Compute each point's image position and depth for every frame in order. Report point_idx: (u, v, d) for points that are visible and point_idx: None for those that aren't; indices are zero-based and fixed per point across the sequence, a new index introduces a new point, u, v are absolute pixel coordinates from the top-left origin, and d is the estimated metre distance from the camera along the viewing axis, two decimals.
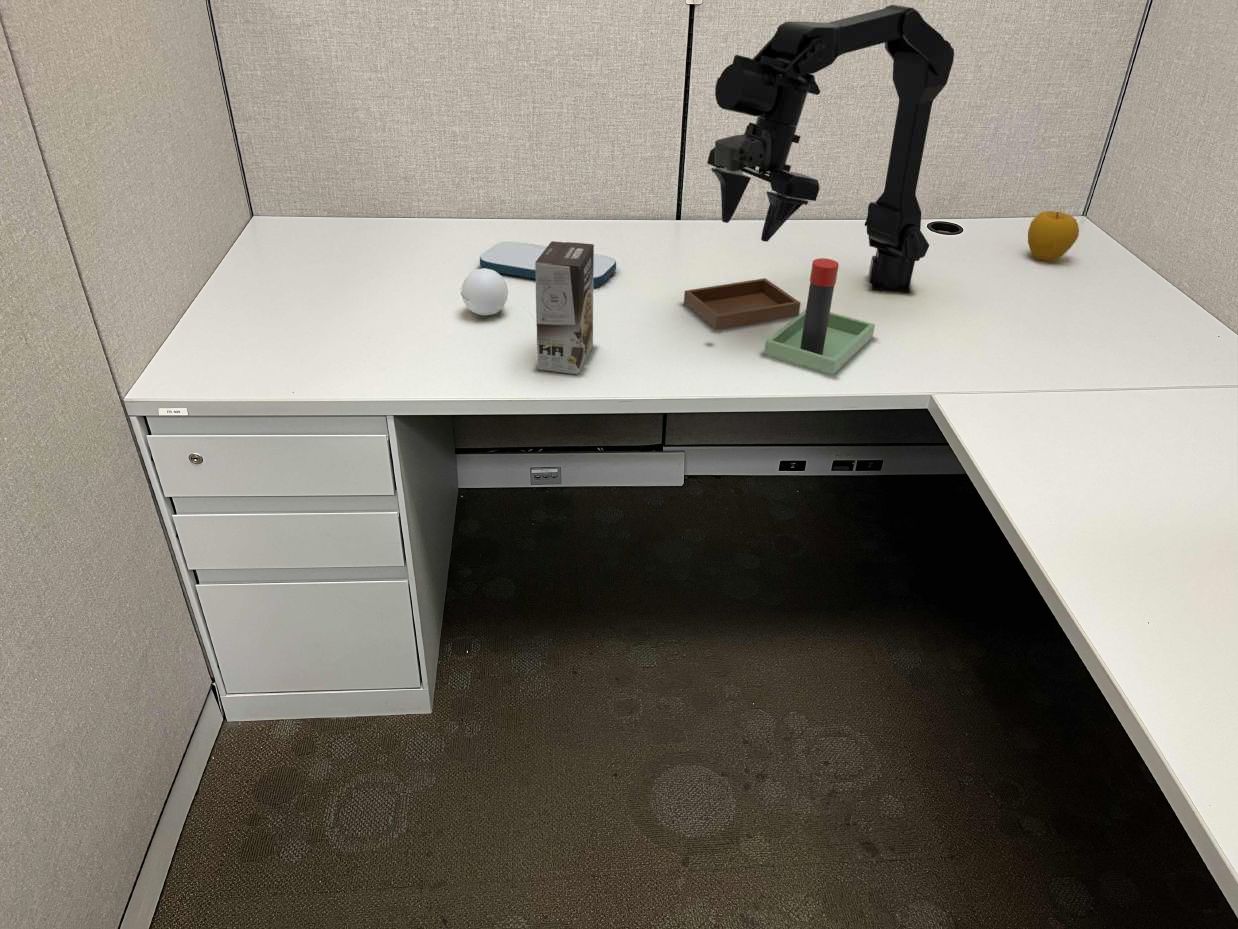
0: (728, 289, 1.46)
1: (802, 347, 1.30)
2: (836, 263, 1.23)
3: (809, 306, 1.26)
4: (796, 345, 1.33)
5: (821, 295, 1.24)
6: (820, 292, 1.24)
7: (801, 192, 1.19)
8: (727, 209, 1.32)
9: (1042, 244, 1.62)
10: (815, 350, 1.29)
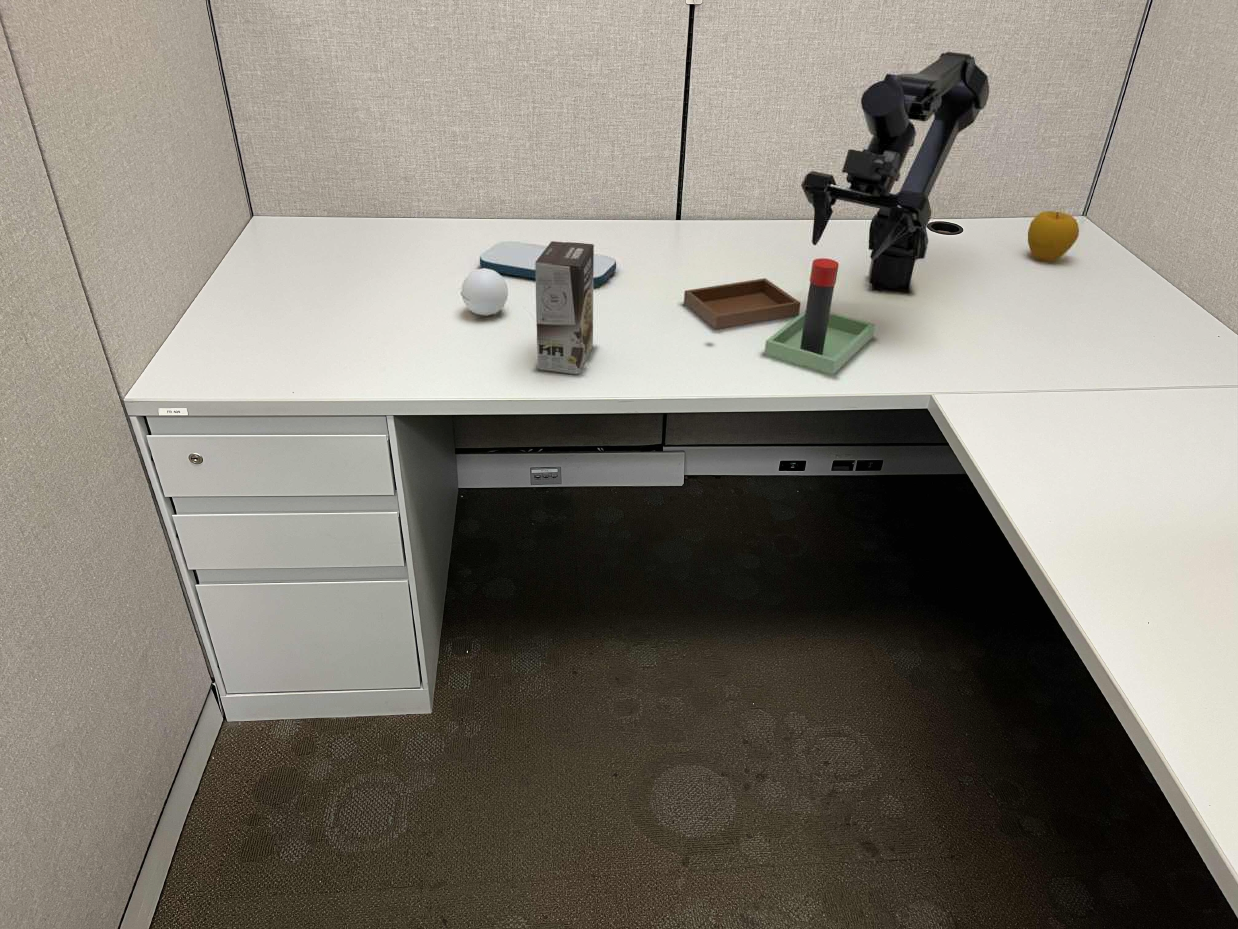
0: (728, 289, 1.46)
1: (802, 347, 1.30)
2: (836, 263, 1.23)
3: (809, 306, 1.26)
4: (796, 345, 1.33)
5: (821, 295, 1.24)
6: (820, 292, 1.24)
7: (925, 212, 1.24)
8: (819, 231, 1.31)
9: (1042, 244, 1.62)
10: (815, 350, 1.29)
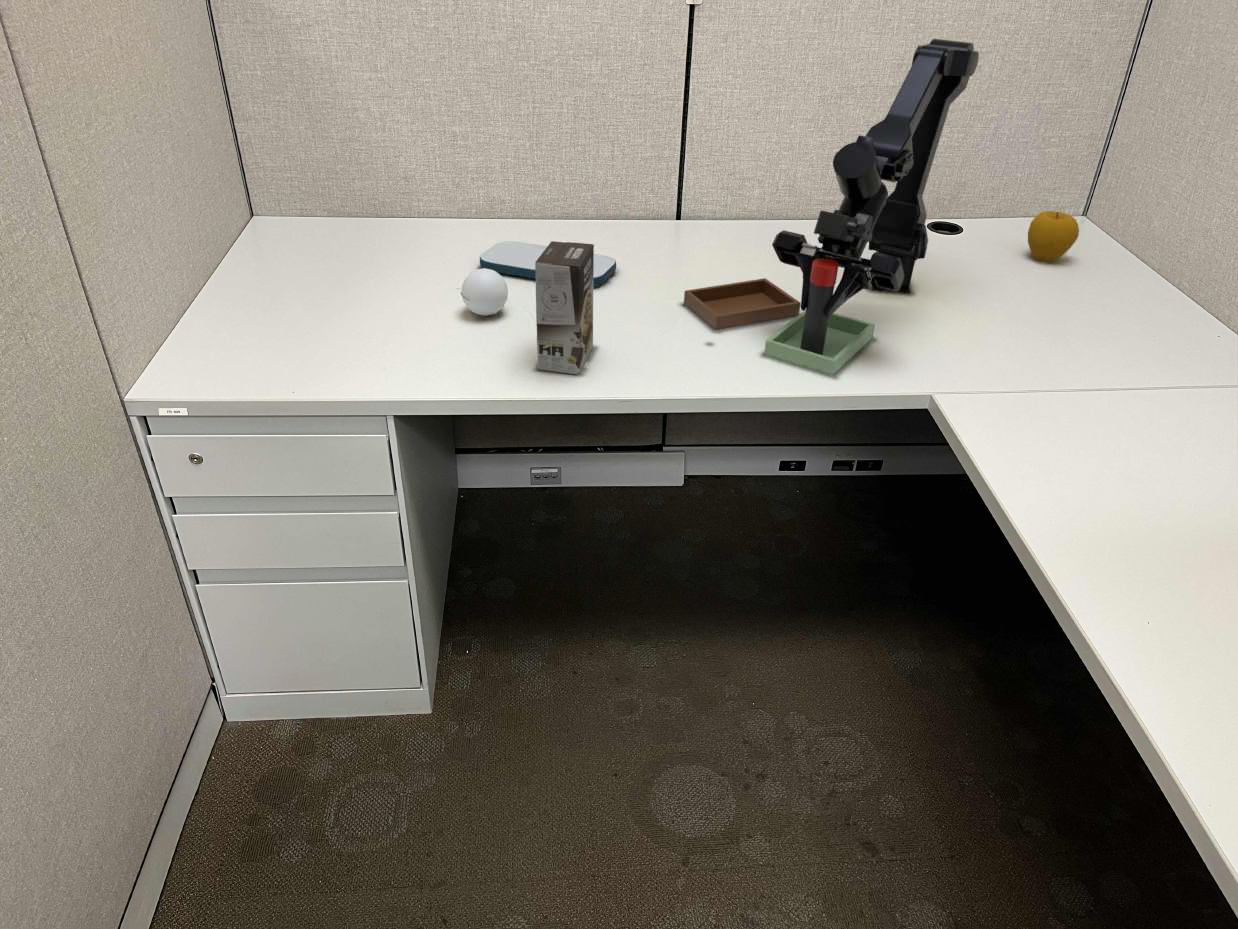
0: (728, 289, 1.46)
1: (802, 347, 1.30)
2: (836, 263, 1.23)
3: (809, 306, 1.26)
4: (796, 345, 1.33)
5: (821, 295, 1.24)
6: (820, 292, 1.24)
7: (898, 275, 1.22)
8: None
9: (1042, 244, 1.62)
10: (815, 350, 1.29)
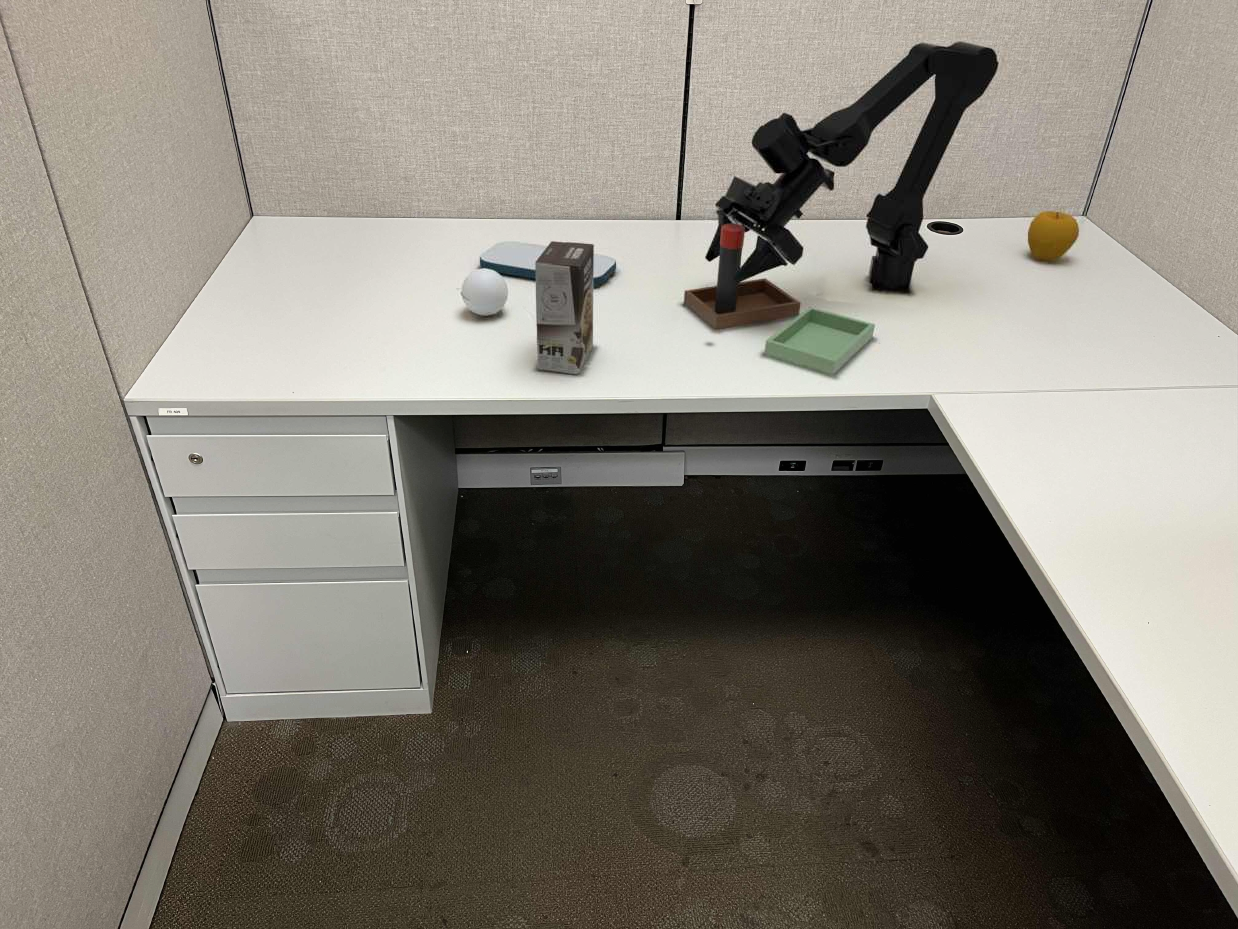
0: None
1: (715, 304, 1.42)
2: (741, 229, 1.34)
3: None
4: (796, 345, 1.33)
5: (724, 256, 1.36)
6: (723, 252, 1.36)
7: (787, 247, 1.29)
8: (714, 249, 1.40)
9: (1042, 244, 1.62)
10: (722, 309, 1.40)
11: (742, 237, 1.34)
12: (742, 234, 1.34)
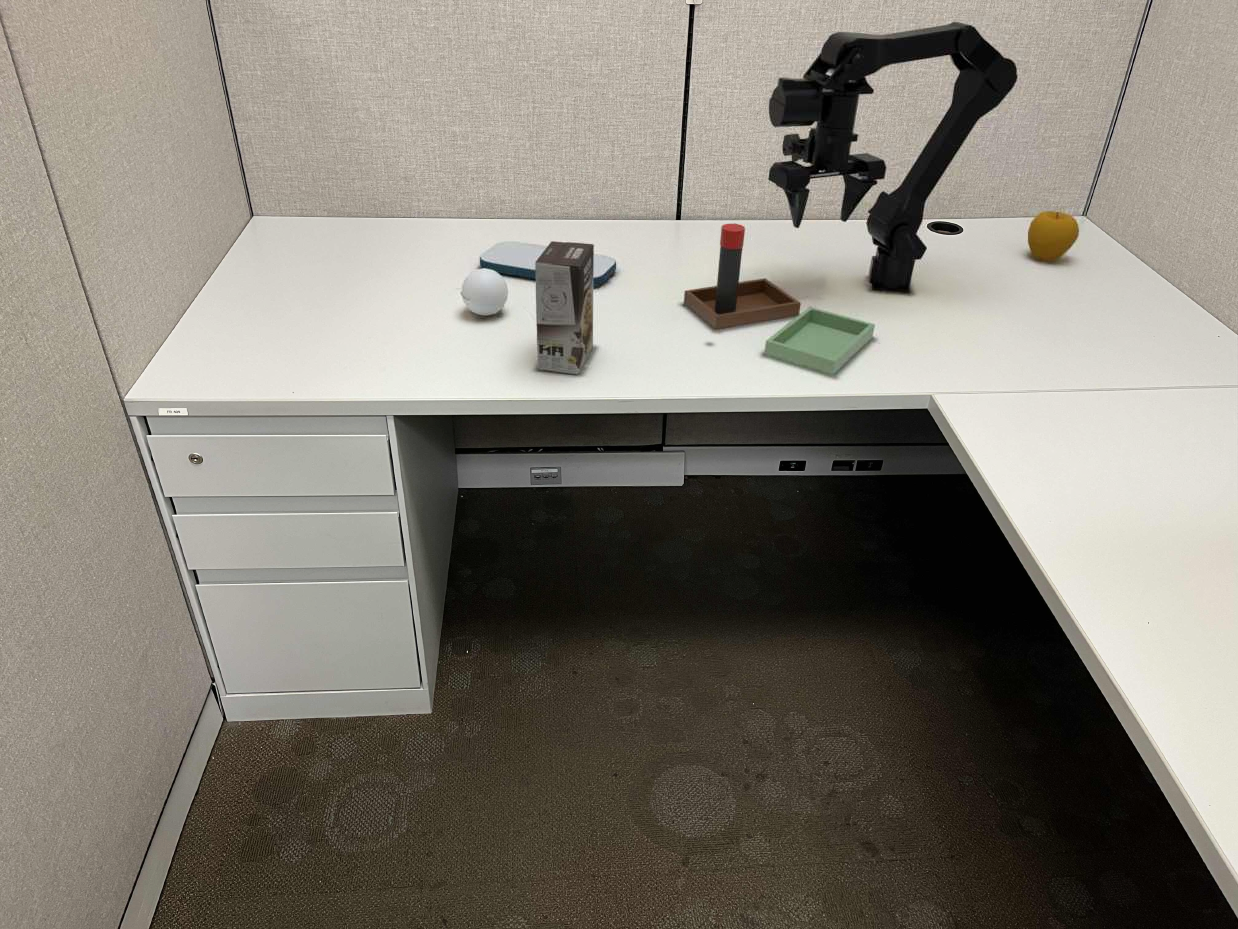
0: None
1: (715, 304, 1.42)
2: (741, 229, 1.34)
3: None
4: (796, 345, 1.33)
5: (724, 256, 1.36)
6: (723, 252, 1.36)
7: (775, 177, 1.36)
8: (843, 208, 1.44)
9: (1042, 244, 1.62)
10: (722, 309, 1.40)
11: (742, 237, 1.34)
12: (742, 234, 1.34)
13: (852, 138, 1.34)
